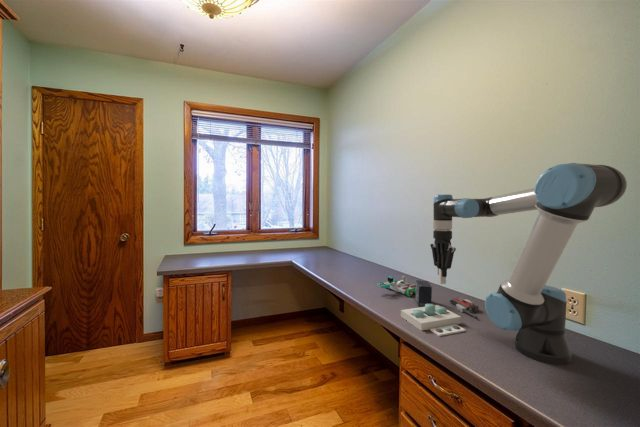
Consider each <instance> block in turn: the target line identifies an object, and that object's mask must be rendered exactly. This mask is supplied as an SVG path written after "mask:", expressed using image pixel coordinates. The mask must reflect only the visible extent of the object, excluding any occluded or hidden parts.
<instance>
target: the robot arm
mask: <svg viewBox="0 0 640 427" xmlns="http://www.w3.org/2000/svg"><path fill="white" fill-rule="evenodd" d="M627 185H628V182H627V179H626V177H625V176H624V174H623V173H622V172H621V171H620V170H619V169H617V168H615V167H613V166H610V165H605V164H591V163H576V162H570V163H561V164H556V165H553V166H551V167H549V168H547V169H546V170H545V171H542V173H541V174H540V175H539V176H538V178H537V179H536V182H535V183H534V187H532V188H528V189H523V190H518V191H514V192H510V193H505V194H501V195H495V196H492V197H486V198H468V197H467V198H466V197H465V198H453V194H435V195H434V196H433V205H432V206H433V222H432V224H433V225H432V226H433V228H432V229H433V231H432V232H433V237H432V238H433V239H434V242H433V243H430V249H431V252H432V259H433V265H434V266H435V267H436V268H437V276H438V284H440V285H446V284H447V275H448V274H447V273H448V270H449V269H451V268H452V264H453V259H454V254H455V252H456V250H457V249H456V247H453V246H452V241H451V240H452V239H453V231H452V230H453V218H462V219H473V218H494V217H498V216H500V215H501V216H502V215H507V214H515V213H523V212H528V211H529V212H530V211H538V215H537V217H536V220H535V222H534V224H533V226H532V228H531V231H530V233H529V236H527V239H526V241H525V243H524V245H523V246H524V247H523V248H522V250H521V252H520V254H519V257H518V259H517V261H516V264H515V266H514V268H513V270H512V271H511V274H510V277H509V278H508V279H504V280H502V281H501V282H500V285H499V287H498V288H497V291H496V292H492V293H490V294H488V295H487V296H486V297H485V300H484V309H485V311H486V313H487V317H488V318H489V319H490V321H491V322H492V324H494V325H495V326H496V327H497V328H499V329H501V330H504V331H506V332H507V331H508V332H510V331H511V332H512V331H518V332H517V333H516V336H515V338H514V347H515V349H516V350H517V351H518V352H520V353H521V355H524V356H526V357H528V358H530V359H533V360H536V361H538V362H541V363H546V364H551V365H568V364H569V363H571V362H572V350H571V349H570V346H569V343H568V340H567V337H566V318H567V316H566V314H567V304H568V301H567V294H566V292H565V291H564V290H562V289H561V288H557V287H555V286H550V285H546V284H547V283H548V281H549V279H550V276H551V275H552V273H553V271H554V270H555V267H556V265H557V263H558V261H559V259H560V258H561V256H562V254H563V252H564V251H565V248H566V247H567V245H568V243H569V241H570V239H571V237H572V235H573V234H574V231H575V230H576V227H577V226H578V225H579V224H581V223H583V222H584V223H585V222H588V221H589V219H590V217H591V215H592V213H593V212H594V210H595V208H601V207H607V206H609V205H612V204H614V203H616V202H617V201H619V200H620V199H621V198H622V197H623V196H624V194H625V192H626V191H627Z"/></svg>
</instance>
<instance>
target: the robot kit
mask: <svg viewBox="0 0 640 427" xmlns="http://www.w3.org/2000/svg"><path fill="white" fill-rule="evenodd" d="M407 279H408V278H407V276H406V275H403V276H401V280H397V279H394V277H392V276H387V281H385V282H381V281H380V282H377V283H375V285H376V287H378V286H380V289H387V290H389V289H391V290H393V291H396V292H399V293H401V294H403V295H405V296H407V297H411V296H413V294H415V295H416V283H414V284H413V283H412V282H409V281H408V280H407Z"/></svg>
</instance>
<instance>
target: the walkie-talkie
mask: <svg viewBox="0 0 640 427" xmlns="http://www.w3.org/2000/svg"><path fill="white" fill-rule="evenodd" d="M449 302H450V303H451V304H452V305H453V306H455V307H456V310H458V311H459V312H461V313H465V314H468V315H469V316H472V317H474V318H476V319H478V315H476V314H474V313H478V312H479V308H480V307H479V305H477V304H475V303H474V302H473V301H472V300H469V299H467V298H466V299H465V298H463V297H454V298H452V299H451V300H449Z"/></svg>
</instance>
